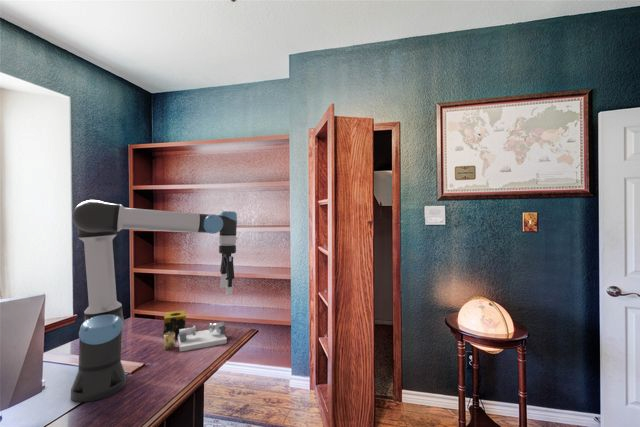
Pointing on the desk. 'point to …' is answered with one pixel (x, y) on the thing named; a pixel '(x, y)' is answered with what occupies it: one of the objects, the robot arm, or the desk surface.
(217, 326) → the shaft out
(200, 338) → the shaft base
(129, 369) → the desk surface
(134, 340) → the desk surface
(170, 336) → the coupler
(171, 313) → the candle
